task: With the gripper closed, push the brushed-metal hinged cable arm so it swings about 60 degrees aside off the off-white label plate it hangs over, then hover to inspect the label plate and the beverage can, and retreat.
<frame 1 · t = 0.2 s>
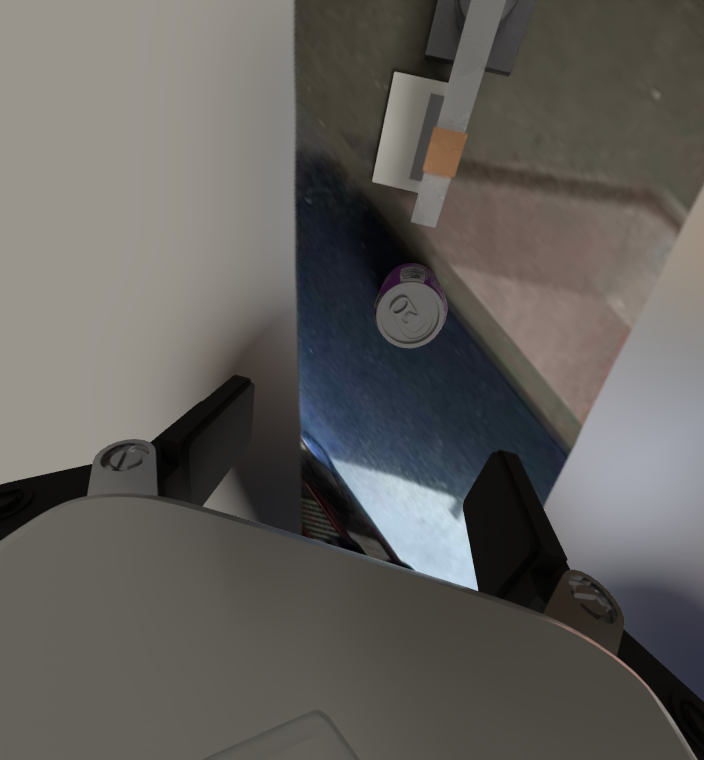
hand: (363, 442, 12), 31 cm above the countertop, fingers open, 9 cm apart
pivot pedestal: (484, 5, 26), on the countertop
cable arm: (460, 95, 25), point 6 cm above the countertop, hinge at 0.0°
label plate: (415, 139, 31), on the countertop
beverage can: (409, 291, 38), on the countertop
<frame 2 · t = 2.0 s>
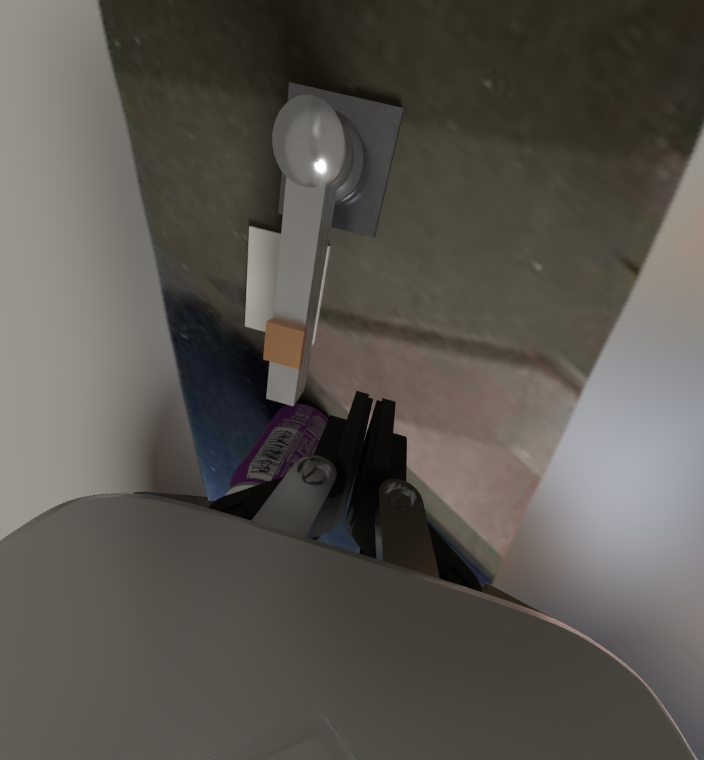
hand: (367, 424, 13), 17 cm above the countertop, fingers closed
pivot pedestal: (337, 167, 23), on the countertop
cable arm: (298, 282, 21), point 6 cm above the countertop, hinge at 0.0°
label plate: (285, 288, 28), on the countertop
beverage can: (305, 425, 35), on the countertop
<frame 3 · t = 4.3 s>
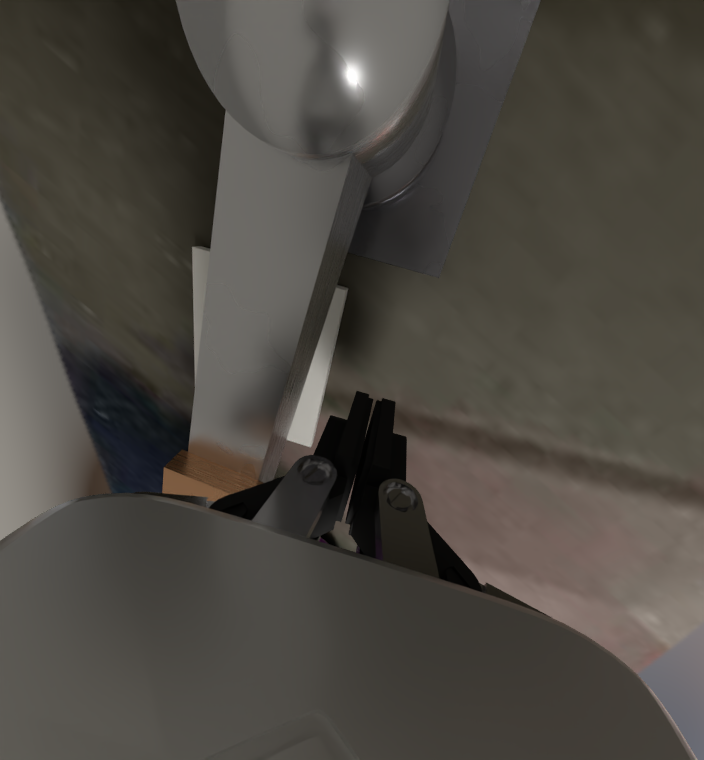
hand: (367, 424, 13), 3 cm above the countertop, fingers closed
pivot pedestal: (369, 131, 11), on the countertop
cable arm: (254, 380, 9), point 6 cm above the countertop, hinge at -6.5°, touching gripper
label plate: (264, 355, 16), on the countertop
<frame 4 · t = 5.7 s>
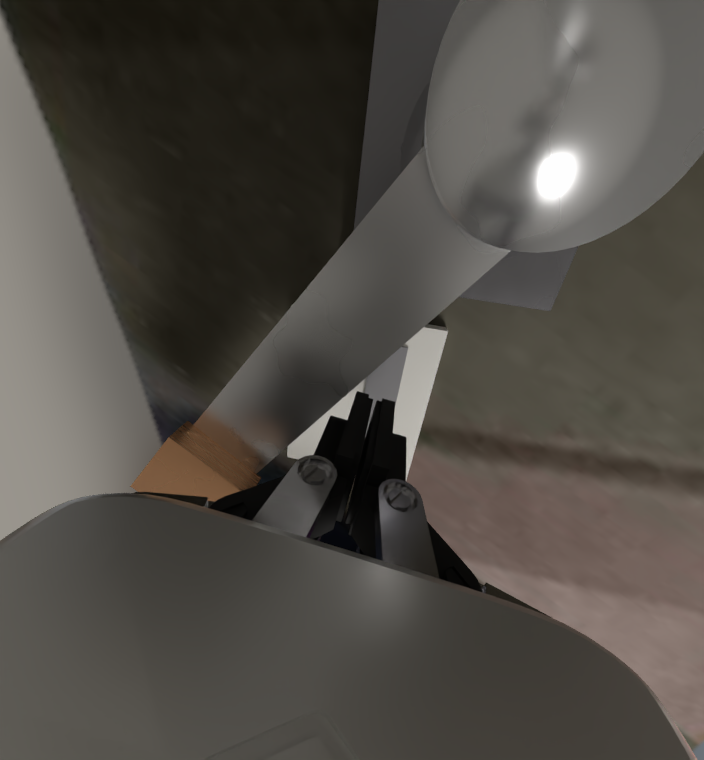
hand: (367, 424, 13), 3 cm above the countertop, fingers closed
pivot pedestal: (472, 178, 11), on the countertop
cable arm: (290, 380, 9), point 6 cm above the countertop, hinge at -36.1°, touching gripper
label plate: (356, 398, 16), on the countertop
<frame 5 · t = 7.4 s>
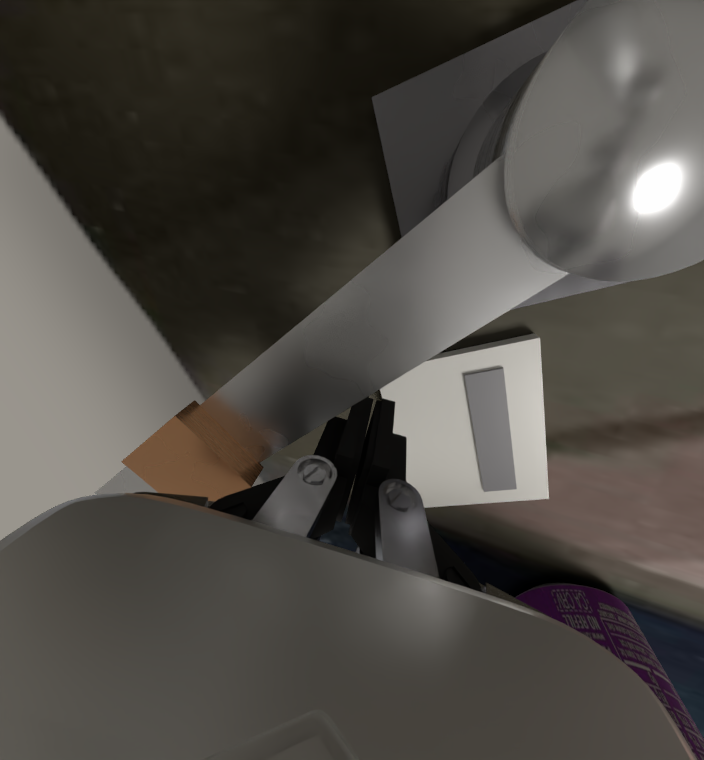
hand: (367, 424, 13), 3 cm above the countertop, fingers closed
pivot pedestal: (510, 193, 11), on the countertop
cable arm: (308, 371, 9), point 6 cm above the countertop, hinge at -68.3°, touching gripper
label plate: (464, 431, 15), on the countertop
beverage can: (558, 601, 20), on the countertop
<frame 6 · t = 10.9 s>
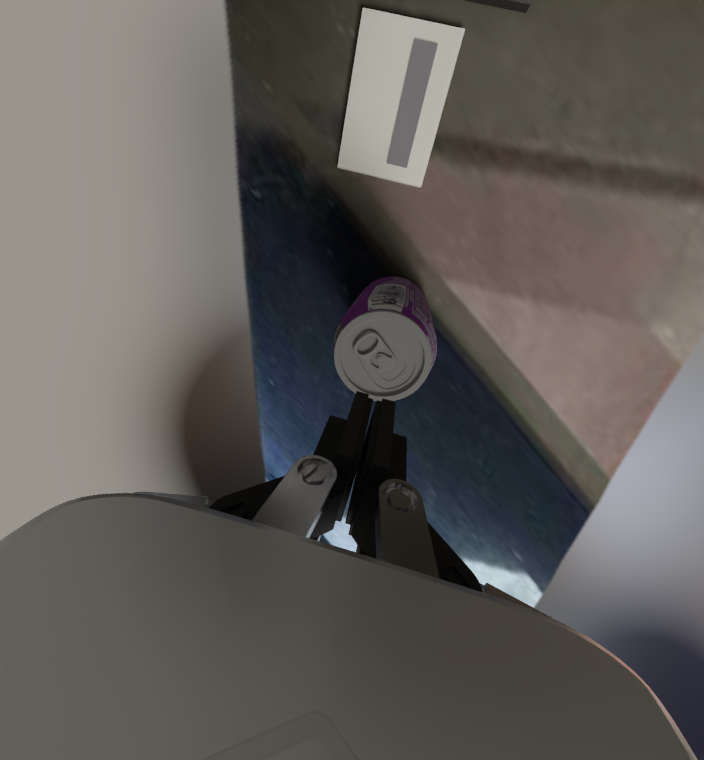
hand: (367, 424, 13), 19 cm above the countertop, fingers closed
label plate: (394, 108, 23), on the countertop
beverage can: (391, 312, 30), on the countertop
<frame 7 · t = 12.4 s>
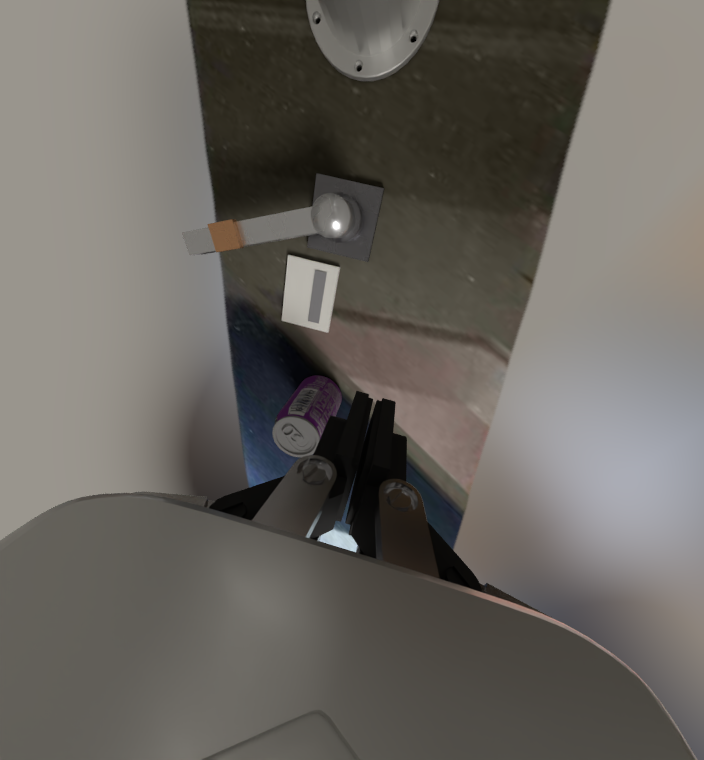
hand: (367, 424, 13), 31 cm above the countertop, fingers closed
pivot pedestal: (344, 219, 37), on the countertop
cable arm: (266, 229, 33), point 6 cm above the countertop, hinge at -69.4°
label plate: (310, 294, 42), on the countertop
beverage can: (321, 392, 48), on the countertop
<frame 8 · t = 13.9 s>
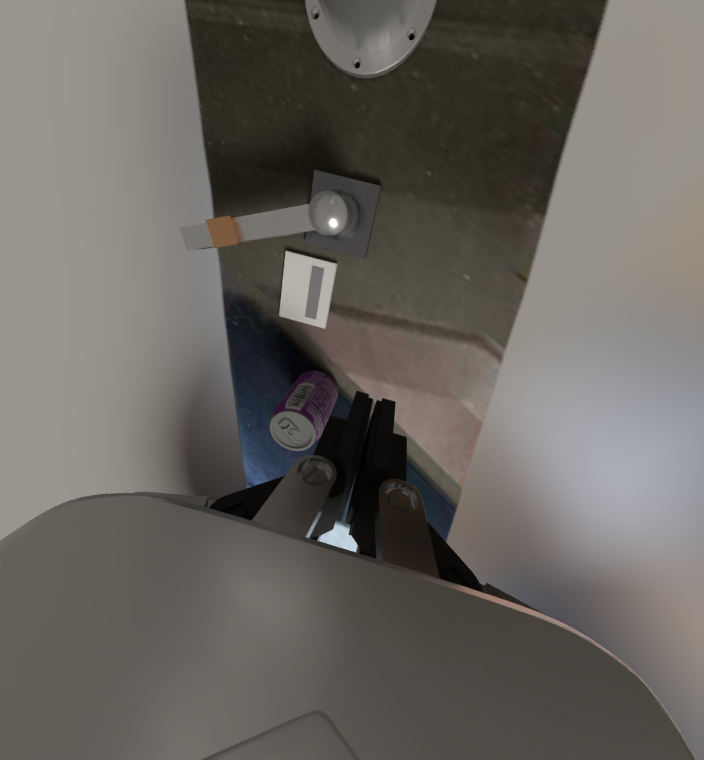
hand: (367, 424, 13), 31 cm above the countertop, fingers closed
pivot pedestal: (342, 216, 37), on the countertop
cable arm: (264, 226, 34), point 6 cm above the countertop, hinge at -69.4°
label plate: (307, 290, 42), on the countertop
beverage can: (318, 387, 49), on the countertop
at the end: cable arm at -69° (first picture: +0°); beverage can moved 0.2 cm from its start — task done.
